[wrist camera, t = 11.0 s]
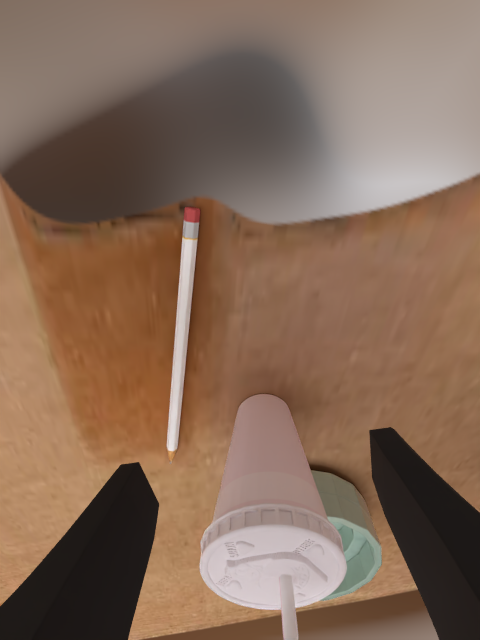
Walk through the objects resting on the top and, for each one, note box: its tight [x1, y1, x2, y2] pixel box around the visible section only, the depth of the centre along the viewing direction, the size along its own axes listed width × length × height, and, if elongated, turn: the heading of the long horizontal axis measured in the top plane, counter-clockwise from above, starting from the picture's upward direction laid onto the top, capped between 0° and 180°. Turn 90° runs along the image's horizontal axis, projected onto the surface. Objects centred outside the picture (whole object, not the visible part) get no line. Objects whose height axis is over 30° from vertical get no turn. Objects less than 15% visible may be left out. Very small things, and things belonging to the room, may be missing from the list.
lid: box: [311, 470, 382, 601], centre depth 25 cm, size 11×11×4 cm
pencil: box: [167, 207, 200, 464], centre depth 20 cm, size 1×19×1 cm, turn 171°
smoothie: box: [200, 394, 347, 640], centre depth 16 cm, size 6×6×14 cm
